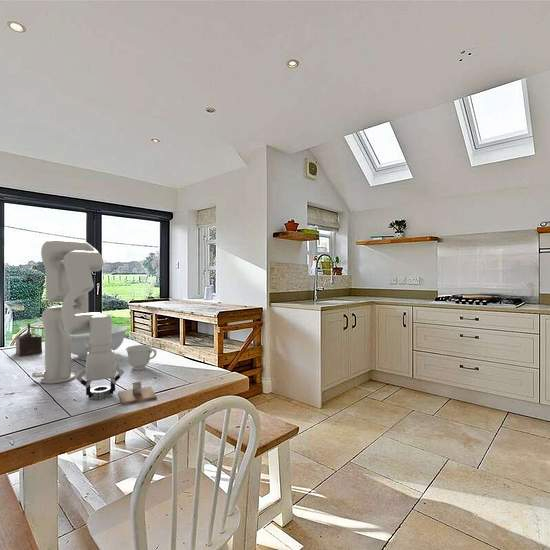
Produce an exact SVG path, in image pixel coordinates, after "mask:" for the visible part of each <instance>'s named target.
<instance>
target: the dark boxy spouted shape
mask: <svg viewBox="0 0 550 550" xmlns="http://www.w3.org/2000/svg"><path fill="white" fill-rule="evenodd" d="M26 327H27V332H26V333H24V334H22V335H18V336H15V353H16V355H17V356H18V357H27V356H33V355H38V354H39V355H40V354H42V353H43V343H42V342H43V338H42V336H41V335H40V334H37V333H34V332H31V329H35V330H36V329H37V330H44V327H42V326H31V323H27V326H26Z"/></svg>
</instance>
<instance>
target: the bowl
mask: <svg viewBox="0 0 550 550" xmlns="http://www.w3.org/2000/svg"><path fill="white" fill-rule="evenodd" d="M127 331H128V327H126V326H124V325H123V326H122V325H115V324H114V325H113V324H112V350H113V351H114V352H115V351H116V350H117V349H119V348H120V346H121V345H122V344H123V342H124V339H125V333H126V332H127ZM69 335H70V337H71V355H75V356H78V357H77V358H78V360H82V361H86V357H87V353H88V352H89V351H88V350H85V346H88V345H89V333H82V334H75V335H72V334H69Z"/></svg>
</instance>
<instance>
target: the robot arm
mask: <svg viewBox="0 0 550 550" xmlns="http://www.w3.org/2000/svg"><path fill="white" fill-rule="evenodd" d="M40 256H41V260H42V263H43V266H44V270H45V297H46V300H47V301H48V302H50V303H53V304H59V303H60V304H61V303H62V304H61V305H54V306H50V307H47V308H45V309H44V310H43V311H42V313H41V320H42V326H43V327H42V328H44V329H43V331H44V333H43V334H44V370H41V371H36V372H35V371H34V372H32V378H35V379H37V378H40V383H42V384H45V385H46V384H49V385H50V384H51V385H53V384H61V383H66V382H69V381H72V380H73V379H76V380H77V381H78V382H79V383H80V385H83V387H85V396H87V398H88V399H90V389H91V383H92V382H95V381H100V380H110V381H111V382H110V387H111V395H114V392H116V383H117V382H118V381H119V379H120V378H121V377H122V376H123V374H124V373H125V371H124V370H123V369H122V368H121V367H118V365H117V363H116V362H117V361H116V354H115V350H114V351H113V350H112V325H113V324H112V320H113V319H112V316H111V315H109V314H104V313H102V312H99V311H97V312H96V311H95V312H89V292H91V291H92V290H93V289H94V287H95V284H94V280H93V276H92V272H100V271H101V270H102V269H103V267H104V259H103V257H102V255H101V253H100V252H99V251H98V249H96V248H95V247H94V246H92V244H90V243H88V242H87V241H79V240H69V239H68V240H67V239H49V240H46V241H45V242H44V243H43V244H42V246H41V251H40ZM82 333H89V345H88V346H85V350H88V351H89V352H88V353H87V357H86V360H85V367H84V368H85V369H83V370H82V371H81V372H80V373H79V374H78V375H76V374H75V373H74V372H72V353H71V337H70V335H69V334H72V335H75V334H82ZM117 372H118V373H117ZM84 376H85V379H86V380H85V379H84V378H83V377H84Z"/></svg>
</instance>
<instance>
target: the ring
mask: <svg viewBox="0 0 550 550" xmlns="http://www.w3.org/2000/svg"><path fill="white" fill-rule="evenodd" d="M110 396H111V397H112V394H111V385H99V386H94V387H92V388H90V398H89V400H91V401H104V400H107V399H109V398H110ZM106 398H107V399H106ZM103 399H104V400H103Z"/></svg>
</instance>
